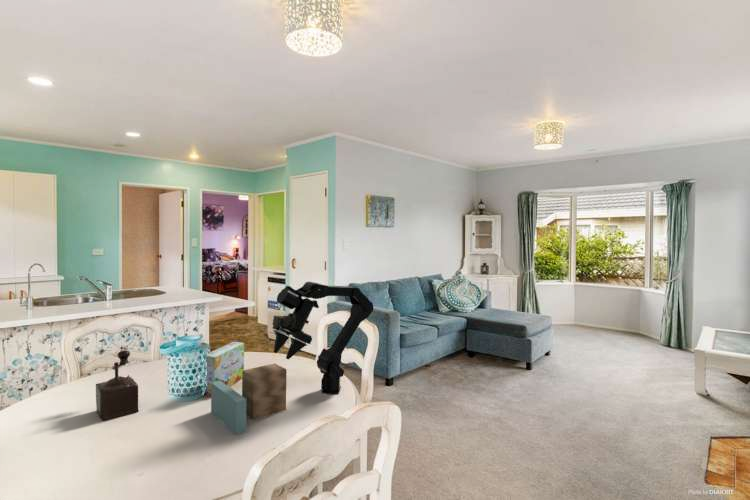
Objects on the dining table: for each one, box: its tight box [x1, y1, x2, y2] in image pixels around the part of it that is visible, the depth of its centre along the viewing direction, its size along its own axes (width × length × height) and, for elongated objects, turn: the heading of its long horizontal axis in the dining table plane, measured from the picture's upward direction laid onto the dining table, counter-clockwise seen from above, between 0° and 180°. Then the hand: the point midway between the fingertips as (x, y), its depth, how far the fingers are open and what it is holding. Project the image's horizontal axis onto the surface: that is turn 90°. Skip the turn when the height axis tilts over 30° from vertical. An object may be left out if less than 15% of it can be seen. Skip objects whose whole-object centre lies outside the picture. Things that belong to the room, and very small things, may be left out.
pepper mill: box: [95, 349, 140, 422], centre depth 137 cm, size 16×11×18 cm
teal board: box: [210, 381, 247, 436], centre depth 129 cm, size 3×20×10 cm, turn 42°
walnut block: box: [241, 363, 287, 421], centre depth 138 cm, size 12×8×14 cm, turn 132°
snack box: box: [203, 341, 245, 398], centre depth 158 cm, size 21×6×15 cm, turn 168°
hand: (280, 355), depth 142 cm, fingers open, 9 cm apart
